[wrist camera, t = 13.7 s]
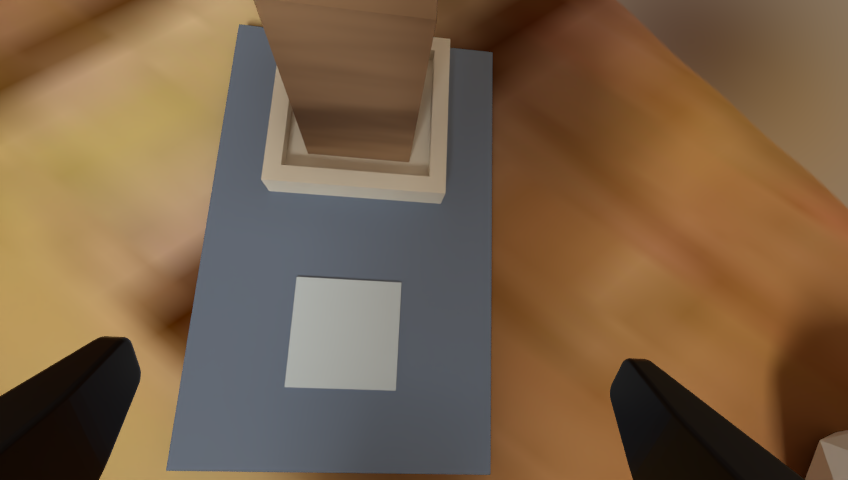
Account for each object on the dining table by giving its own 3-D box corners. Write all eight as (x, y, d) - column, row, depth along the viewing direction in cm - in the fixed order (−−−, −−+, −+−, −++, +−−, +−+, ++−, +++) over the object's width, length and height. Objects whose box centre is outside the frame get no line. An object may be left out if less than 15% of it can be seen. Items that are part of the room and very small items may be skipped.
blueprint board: (485, 469, 20) (500, 486, 18) (174, 465, 19) (146, 482, 17) (488, 61, 26) (500, 33, 23) (243, 34, 24) (229, 1, 22)
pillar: (409, 162, 22) (436, 19, 12) (308, 153, 21) (252, -3, 12) (414, 74, 23) (442, -119, 13) (318, 64, 23) (276, -145, 13)
